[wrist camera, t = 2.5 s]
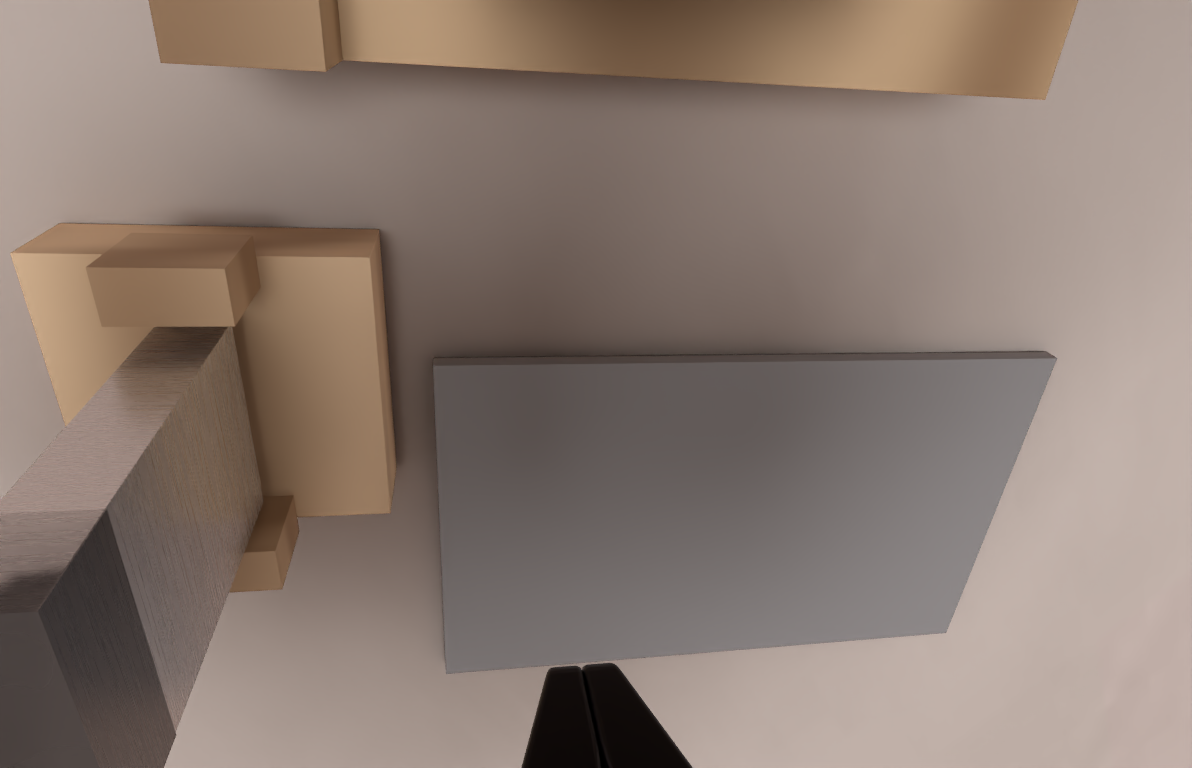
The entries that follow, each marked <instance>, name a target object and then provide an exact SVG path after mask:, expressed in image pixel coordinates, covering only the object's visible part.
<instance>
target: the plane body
mask: <svg viewBox="0 0 1192 768" xmlns="http://www.w3.org/2000/svg"><path fill="white" fill-rule="evenodd" d="M1077 3H1078V0H149V5H150V10H151V15H152V20H153V26H154V31H155V36H156V41H157V46H158V51H159V56H160V61H161V63H172V64H191V65H209V66H228V67H247V68H265V69H284V70H303V71H321V72H326V71H328V70H329V69H331V68H332V67H334V66H335V65H337V64H338V63H340V62H341V61H343V60H347V61H364V62H382V63H400V64H418V65H436V66H453V67H471V68H489V69H507V70H525V71H542V72H560V73H578V74H596V75H613V76H631V77H649V78H667V79H685V80H702V81H720V82H738V83H756V84H773V85H791V86H809V87H827V88H845V89H862V90H880V91H898V92H916V93H934V94H951V95H969V96H987V97H1005V98H1022V99H1040V100H1045V99H1046V96H1047V93H1048V90H1049V87H1050V84H1051V81H1052V78H1053V75H1054V72H1055V69H1056V66H1057V63H1058V60H1059V57H1060V54H1061V51H1062V48H1063V45H1064V42H1065V39H1066V36H1067V33H1068V30H1069V27H1070V24H1071V21H1072V18H1073V15H1074V12H1075V9H1076V6H1077Z"/></svg>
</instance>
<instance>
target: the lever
mask: <svg viewBox="0 0 1192 768" xmlns="http://www.w3.org/2000/svg"><path fill="white" fill-rule="evenodd" d="M263 502H264V500H263V494H262V489H261V483H260V478H259V472H258V467H257V461H256V456H255V450H254V445H253V439H252V434H251V428H250V423H249V417H248V412H247V406H246V401H245V395H244V390H243V384H242V379H241V373H240V368H239V362H238V357H237V351H236V346H235V340H234V335H233V329H232V327H154V328H153V329H152V330H151V331H150V332H149V334H148V335H147V336H146V337H145V338H144V339H143V340H142V341H141V343H140V344H139V345H138V346H137V347H136V348H135V349H134V351H133V352H132V353H131V354H130V355H129V356H128V357H127V358H126V360H125V361H124V362H123V363H122V364H121V365H120V366H119V367H118V369H117V370H116V371H115V372H114V373H113V374H112V375H111V376H110V378H109V379H108V380H107V381H106V382H105V383H104V384H103V385H102V387H101V388H100V389H99V390H98V391H97V392H96V393H95V394H94V396H93V397H92V398H91V399H90V400H89V401H88V402H87V403H86V405H85V406H84V407H83V408H82V409H81V410H80V411H79V412H78V414H77V415H76V416H75V417H74V418H73V419H72V420H71V421H70V423H69V424H68V425H67V426H66V427H65V428H64V429H63V430H62V432H61V433H60V434H59V435H58V436H57V437H56V438H55V440H54V441H53V442H52V443H51V444H50V445H49V446H48V447H47V449H46V450H45V451H44V452H43V453H42V454H41V455H40V456H39V458H38V459H37V460H36V461H35V462H34V463H33V464H32V465H31V467H30V468H29V469H28V470H27V471H26V472H25V473H24V474H23V476H22V477H21V478H20V479H19V480H18V481H17V482H16V483H15V485H14V486H13V487H12V488H11V489H10V490H9V491H8V492H7V494H6V495H5V496H4V497H3V498H2V499H1V500H0V768H164V766H165V763H166V760H167V758H168V755H169V752H170V750H171V747H172V745H173V742H174V739H175V737H176V730H177V727H178V725H179V722H180V720H181V717H182V714H183V712H184V709H185V706H186V704H187V701H188V699H189V696H190V693H191V691H192V688H193V685H194V683H195V680H196V678H197V675H198V672H199V670H200V667H201V664H202V662H203V659H204V657H205V654H206V651H207V649H208V646H209V643H210V641H211V638H212V636H213V633H214V630H215V628H216V625H217V622H218V620H219V617H220V615H221V612H222V609H223V607H224V604H225V601H226V599H227V596H228V594H229V591H230V588H231V586H232V583H233V580H234V578H235V575H236V573H237V570H238V567H239V565H240V562H241V559H242V557H243V554H244V552H245V549H246V546H247V544H248V541H249V538H250V536H251V533H252V531H253V528H254V525H255V523H256V520H257V517H258V515H259V512H260V510H261V507H262V504H263Z"/></svg>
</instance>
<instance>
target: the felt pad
mask: <svg viewBox="0 0 1192 768" xmlns="http://www.w3.org/2000/svg"><path fill="white" fill-rule="evenodd" d="M1056 360H1057V358H1056V357H1054V356H1053V355H1051V354H1049V353H1048V352H970V353H871V354H773V355H674V356H575V357H476V358H434V359H433V378H434V402H435V426H436V449H437V473H438V497H439V520H440V544H441V568H442V592H443V615H444V639H445V663H446V674H451V673H463V672H476V671H488V670H500V669H512V668H524V667H537V666H549V665H561V664H573V663H585V662H598V661H610V660H622V659H634V658H646V657H658V656H671V655H683V654H695V653H707V652H719V651H732V650H744V649H756V648H768V647H780V646H793V645H805V644H817V643H829V642H841V641H854V640H866V639H878V638H890V637H902V636H914V635H927V634H939V633H946V632H947V629H948V627H949V624H950V622H951V619H952V617H953V614H954V612H955V609H956V607H957V605H958V602H959V600H960V597H961V595H962V592H963V590H964V587H965V585H966V582H967V580H968V577H969V575H970V572H971V570H972V567H973V565H974V563H975V560H976V558H977V555H978V553H979V550H980V548H981V545H982V543H983V540H984V538H985V535H986V533H987V530H988V528H989V525H990V523H991V520H992V518H993V516H994V513H995V511H996V508H997V506H998V503H999V501H1000V498H1001V496H1002V493H1003V491H1004V488H1005V486H1006V483H1007V481H1008V478H1009V476H1010V474H1011V471H1012V469H1013V466H1014V464H1015V461H1016V459H1017V456H1018V454H1019V451H1020V449H1021V446H1022V444H1023V441H1024V439H1025V436H1026V434H1027V431H1028V429H1029V427H1030V424H1031V422H1032V419H1033V417H1034V414H1035V412H1036V409H1037V407H1038V404H1039V402H1040V399H1041V397H1042V394H1043V392H1044V389H1045V387H1046V385H1047V382H1048V380H1049V377H1050V375H1051V372H1052V370H1053V367H1054V365H1055V362H1056Z"/></svg>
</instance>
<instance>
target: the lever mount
mask: <svg viewBox="0 0 1192 768" xmlns="http://www.w3.org/2000/svg"><path fill="white" fill-rule="evenodd" d="M10 254H11V257H12V260H13V263H14V267H15V270H16V273H17V276H18V279H19V282H20V285H21V288H22V292H23V295H24V298H25V301H26V304H27V307H28V310H29V313H30V316H31V320H32V323H33V326H34V329H35V332H36V335H37V338H38V341H39V345H40V348H41V351H42V354H43V357H44V360H45V363H46V366H47V370H48V373H49V376H50V379H51V382H52V385H53V388H54V391H55V395H56V398H57V401H58V404H59V407H60V410H61V413H62V416H63V419H64V423H65V426H67V425H68V424H69V423H70V421H71V420H72V419H73V418H74V417H75V416H76V415H77V414H78V412H79V411H80V410H81V409H82V408H83V407H84V406H85V405H86V403H87V402H88V401H89V400H90V399H91V398H92V397H93V396H94V394H95V393H96V392H97V391H98V390H99V389H100V388H101V387H102V385H103V384H104V383H105V382H106V381H107V380H108V379H109V378H110V376H111V375H112V374H113V373H114V372H115V371H116V370H117V369H118V367H119V366H120V365H121V364H122V363H123V362H124V361H125V360H126V358H127V357H128V356H129V355H130V354H131V353H132V352H133V351H134V349H135V348H136V347H137V346H138V345H139V344H140V343H141V341H142V340H143V339H144V338H145V337H146V336H147V335H148V334H149V332H150V331H151V330H152V329H153V328H154V327H232V329H233V335H234V340H235V346H236V351H237V357H238V362H239V368H240V373H241V379H242V384H243V390H244V395H245V401H246V406H247V412H248V417H249V423H250V428H251V434H252V439H253V445H254V450H255V456H256V461H257V467H258V472H259V478H260V483H261V489H262V494H263V500H264V502H263V504H262V507H261V510H260V512H259V515H258V517H257V520H256V523H255V525H254V528H253V531H252V533H251V536H250V538H249V541H248V544H247V546H246V549H245V552H244V554H243V557H242V559H241V562H240V565H239V567H238V570H237V573H236V575H235V578H234V580H233V583H232V586H231V588H230V591H229V592H245V591H262V590H278V589H282V588H283V585H284V581H285V578H286V575H287V571H288V568H289V564H290V561H291V558H292V554H293V551H294V547H295V544H296V541H297V537H298V534H299V527H298V521H297V517H314V516H337V515H359V514H381V513H391V506H392V498H393V491H394V483H395V476H396V468H397V465H396V452H395V438H394V425H393V411H392V398H391V384H390V370H389V357H388V343H387V330H386V316H385V303H384V289H383V276H382V262H381V248H380V235H379V229H333V228H280V227H227V226H174V225H121V224H68V223H59V224H58V225H56V226H54V227H53V228H51V229H49V230H48V231H46V232H44V233H43V234H41V235H39V236H38V237H36V238H34V239H33V240H31V241H29V242H28V243H26V244H24V245H23V246H21V247H19V248H18V249H16V250H15V251H13V252H11V253H10Z"/></svg>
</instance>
